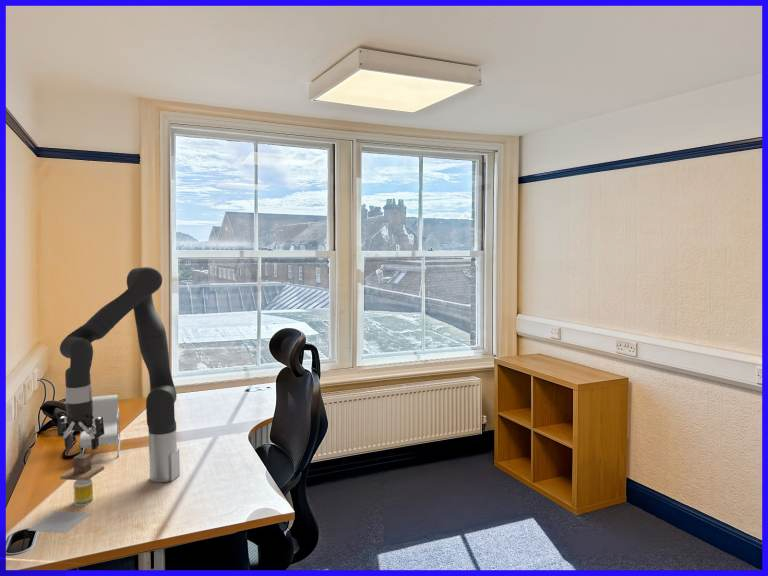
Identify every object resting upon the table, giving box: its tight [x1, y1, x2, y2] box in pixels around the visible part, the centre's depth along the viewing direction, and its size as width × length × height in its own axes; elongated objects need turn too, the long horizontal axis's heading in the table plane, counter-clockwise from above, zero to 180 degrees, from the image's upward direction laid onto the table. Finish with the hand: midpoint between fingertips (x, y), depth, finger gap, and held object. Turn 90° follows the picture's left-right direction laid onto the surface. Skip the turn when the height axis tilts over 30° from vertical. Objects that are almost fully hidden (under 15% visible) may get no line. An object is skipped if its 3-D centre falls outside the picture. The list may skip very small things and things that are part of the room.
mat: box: [27, 510, 92, 534], centre depth 175 cm, size 12×12×1 cm
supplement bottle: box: [73, 478, 94, 507], centre depth 188 cm, size 5×5×10 cm
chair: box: [79, 394, 121, 457], centre depth 234 cm, size 13×25×20 cm, turn 23°
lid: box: [59, 453, 105, 481], centre depth 187 cm, size 9×9×6 cm
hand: (82, 449), depth 186 cm, fingers open, 8 cm apart
